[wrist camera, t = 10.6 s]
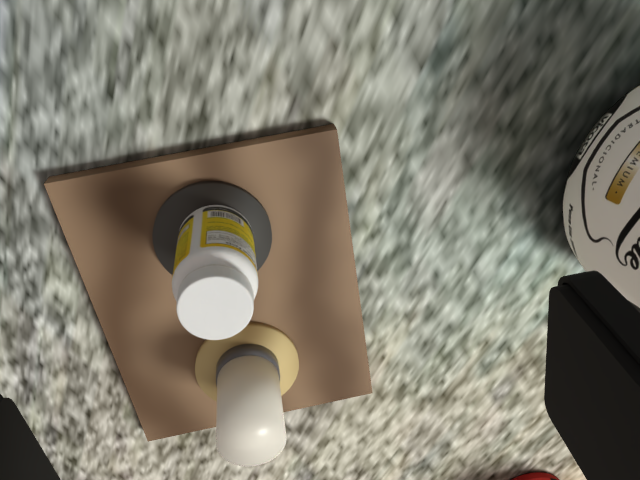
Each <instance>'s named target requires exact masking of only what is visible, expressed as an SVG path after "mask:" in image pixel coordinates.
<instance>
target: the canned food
mask: <svg viewBox="0 0 640 480" xmlns="http://www.w3.org/2000/svg"><path fill="white" fill-rule="evenodd" d="M511 480H559V479H558V478H557V477H555V476H553V475H551V474H548V473H540V472H535V473H528V474H523V475H520V476H518V477H515V478H513V479H511Z"/></svg>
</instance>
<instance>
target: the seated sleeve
mask: <svg viewBox="0 0 640 480" xmlns="http://www.w3.org/2000/svg"><path fill="white" fill-rule="evenodd" d="M216 386H217V421H216V447H217V450H218V452H219V454H220V455H221V456H222V457H223V458H224V459H225V460H226V461H228V462H230V463H232V464H235V465H239V466H257V465H261V464H264V463H267V462H269V461H271V460H272V459H274V458H275V457H277V456H278V455H279V454H280V453H281V451H282V450H283V448H284V447H285V444H286V430H285V422H284V414H283V406H282V398H281V390H280V370H279V363H278V359H277V357H276V356H275V354H274V353H273V352H272V351H271V350H269V349H268V348H266V347H264V346H261V345H258V344H241V345H237V346H235V347H232V348H230V349H229V350H227V351H226V352H225V353H223V355H222V356H221V357H220V358H219V360H218V362H217V365H216Z"/></svg>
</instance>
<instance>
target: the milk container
mask: <svg viewBox="0 0 640 480" xmlns="http://www.w3.org/2000/svg"><path fill="white" fill-rule="evenodd" d="M563 219H564V227H565V232H566V236H567V239H568V242H569V244H570V247H571V248H572V250H573V252H574V254H575V256H576V257H577V259H578V261H579V262H580V264H581V265H582V267H583V268H584V270H585V271H586V272H588V271H593V270H594V271H598V272H599V273H601V274H602V275H603V276H604V277H605V278H606V279H607V280H608V281H609V282H610V283H611V284H612V285H613V286H614V287H615V288H616V289H617V290H618V291H619V292H620V293H621V294H622V295H623V296H624V297H625V298H626V299H627V300H628V301H629V302H630V303H631V304H632V305H633V306H634V307H635V308H636V309H637V310H638V311H639V312H640V85H639V86H637V87H636V88H634V89H633V90H631V91H630V92H628V93H627V94H626V95H625V96H623V97H622V98H621V99H620V100H619V101H618V102H617V103H616V104H615V105H614V106H612V107H611V108H610V109H609V110H608V111H607V112H606V113H605V114H604V115H603V116H602V117H601V118H600V119H599V120H598V122H597V123H596V124H595V125H594V127H593V128H592V129H591V131H590V132H589V134H588V135H587V137H586V139H585V140H584V142H583V144H582V145H581V147H580V149H579V150H578V152H577V154H576V156H575V158H574V160H573V162H572V164H571V167H570V170H569V174H568V178H567V182H566V186H565V190H564V195H563Z"/></svg>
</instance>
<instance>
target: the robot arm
mask: <svg viewBox="0 0 640 480" xmlns="http://www.w3.org/2000/svg"><path fill="white" fill-rule="evenodd" d="M544 399H545V406H546V409H547V412H548V415H549V417H550V419H551V421H552V423H553V424H554V426H555V427H556V429H557V431H558V432H559V434H560V436H561V437H562V439H563V441H564V442H565V444H566V446H567V447H568V449H569V451H570V452H571V454H572V456H573V457H574V459H575V461H576V462H577V464H578V466H579V467H580V469H581V470H582V472H583V474H584V475H585V477H586V479H587V480H640V312H639V311H638V310H637V309H636V308H635V307H634V306H633V305H632V304H631V303H630V302H629V301H628V300H627V299H626V298H625V297H624V296H623V295H622V294H621V293H620V292H619V291H618V290H617V289H616V288H615V287H614V286H613V285H612V284H611V283H610V282H609V281H608V280H607V279H606V278H605V277H604V276H603V275H602V274H601V273H599V272H598V271H594V270H593V271H588V272H583V273H578V274H573V275H568V276H563V277H561V278H560V280H559V282H558V286H556V287H553V288H551V290H550V294H549V311H548V332H547V353H546V374H545V395H544ZM0 480H60V478H59V476H58V475H57V473H56V471H55V470H54V468H53V466H52V465H51V463H50V461H49V460H48V458H47V456H46V455H45V453H44V451H43V450H42V448H41V446H40V445H39V443H38V441H37V440H36V438H35V436H34V435H33V433H32V431H31V430H30V428H29V426H28V425H27V423H26V421H25V420H24V418H23V416H22V415H21V413H20V411H19V410H18V408H17V406H16V405H15V403H14V402H13V401H12V400H11V399H10V398H3V397H2V395H1V394H0Z"/></svg>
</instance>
